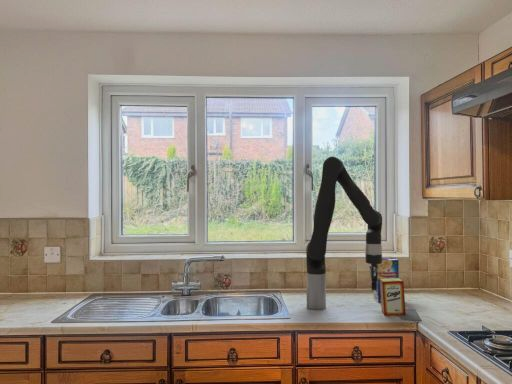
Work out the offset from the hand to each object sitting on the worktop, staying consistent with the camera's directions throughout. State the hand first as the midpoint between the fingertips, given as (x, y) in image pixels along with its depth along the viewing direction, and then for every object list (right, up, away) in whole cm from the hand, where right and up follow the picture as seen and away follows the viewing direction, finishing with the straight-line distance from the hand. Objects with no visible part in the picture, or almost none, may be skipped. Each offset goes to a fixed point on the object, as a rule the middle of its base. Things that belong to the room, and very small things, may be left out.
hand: (374, 289), depth 194 cm
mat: (+15, -11, -3) cm, 19 cm away
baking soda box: (+9, -11, -2) cm, 14 cm away
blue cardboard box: (+12, -11, +21) cm, 27 cm away
